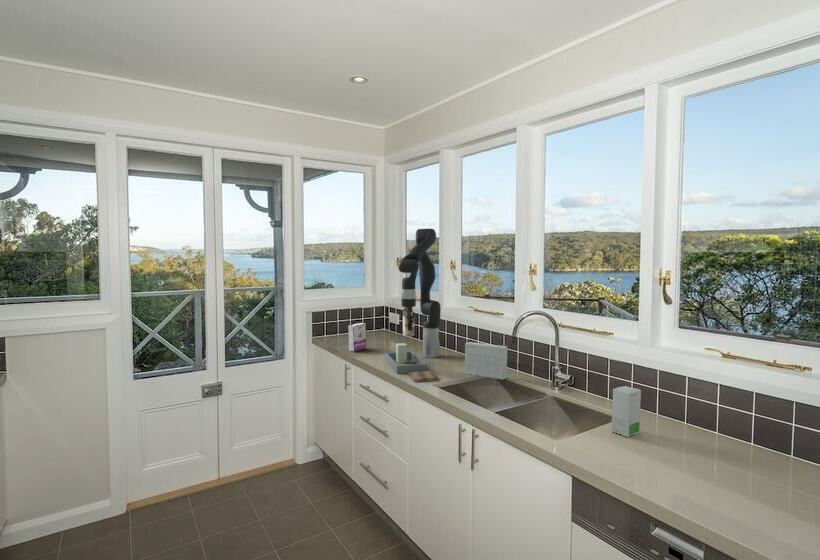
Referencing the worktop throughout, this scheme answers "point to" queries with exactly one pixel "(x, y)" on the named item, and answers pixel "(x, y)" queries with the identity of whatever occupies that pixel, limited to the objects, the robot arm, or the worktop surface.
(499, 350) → the skincare box
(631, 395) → the skincare box
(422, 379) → the walnut board
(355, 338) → the candy bar box
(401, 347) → the sage block
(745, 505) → the worktop surface
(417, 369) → the grey bin
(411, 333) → the birch block
